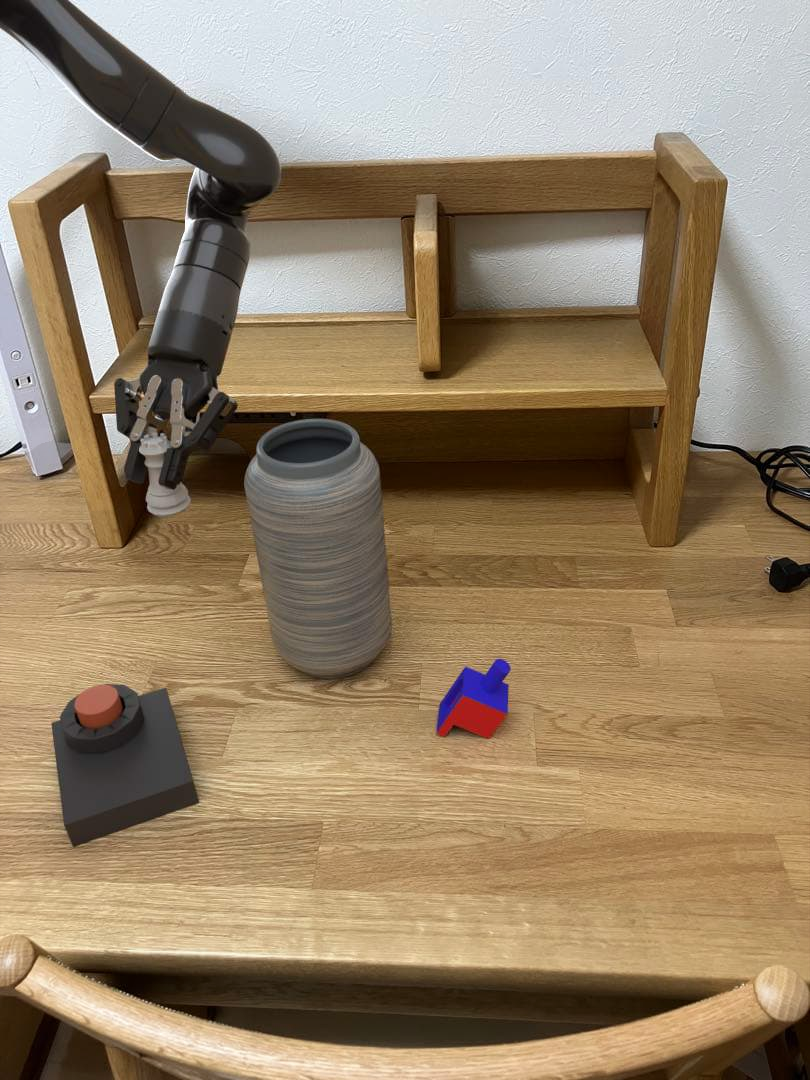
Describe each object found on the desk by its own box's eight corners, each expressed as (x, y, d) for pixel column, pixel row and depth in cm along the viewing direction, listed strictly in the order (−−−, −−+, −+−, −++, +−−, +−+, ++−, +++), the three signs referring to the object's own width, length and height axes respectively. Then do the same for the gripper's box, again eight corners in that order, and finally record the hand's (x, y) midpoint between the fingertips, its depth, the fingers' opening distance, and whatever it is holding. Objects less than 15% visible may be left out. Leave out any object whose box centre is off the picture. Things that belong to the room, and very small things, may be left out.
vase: (332, 598, 95) (307, 399, 82) (418, 641, 88) (405, 431, 75) (250, 657, 87) (209, 449, 75) (336, 708, 81) (307, 490, 68)
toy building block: (479, 751, 78) (523, 692, 73) (435, 733, 77) (477, 673, 73) (481, 721, 81) (524, 663, 76) (439, 703, 80) (479, 644, 76)
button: (77, 707, 77) (72, 692, 76) (119, 694, 78) (114, 679, 77) (81, 734, 74) (76, 719, 73) (125, 721, 75) (120, 706, 74)
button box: (58, 738, 80) (44, 701, 77) (170, 703, 83) (160, 667, 80) (73, 847, 70) (57, 809, 67) (199, 803, 73) (188, 765, 70)
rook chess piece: (199, 507, 92) (184, 438, 88) (160, 524, 90) (143, 454, 85) (178, 491, 95) (163, 423, 91) (140, 507, 93) (122, 438, 88)
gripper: (116, 300, 90) (68, 463, 88) (237, 312, 85) (190, 485, 83) (158, 331, 97) (114, 483, 95) (272, 344, 92) (229, 504, 90)
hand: (150, 483), depth 89 cm, fingers closed on rook chess piece, 3 cm apart
